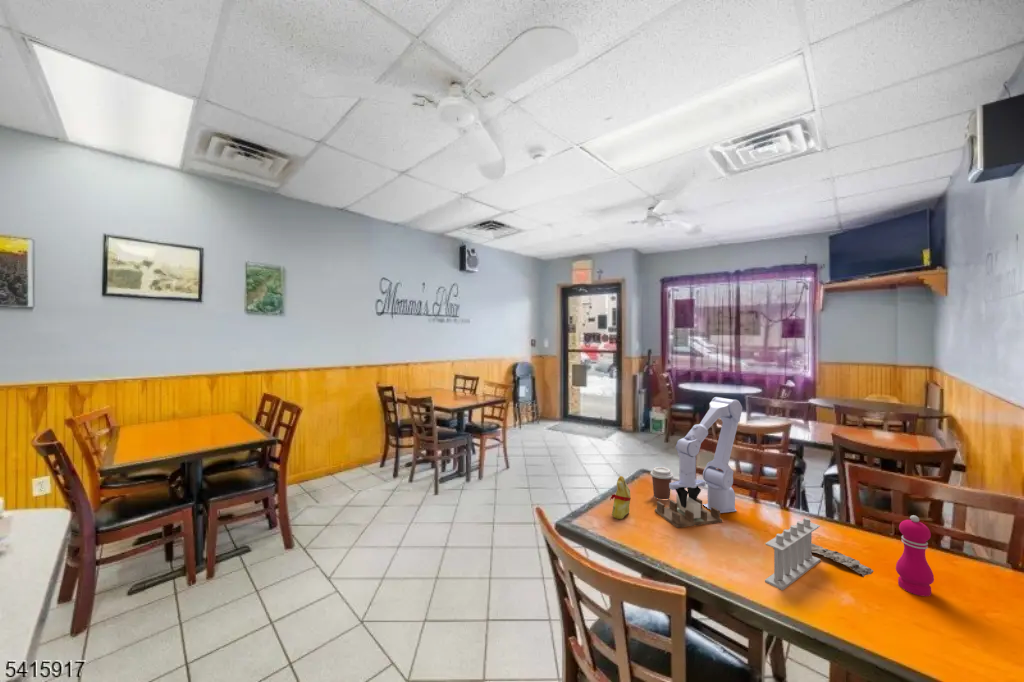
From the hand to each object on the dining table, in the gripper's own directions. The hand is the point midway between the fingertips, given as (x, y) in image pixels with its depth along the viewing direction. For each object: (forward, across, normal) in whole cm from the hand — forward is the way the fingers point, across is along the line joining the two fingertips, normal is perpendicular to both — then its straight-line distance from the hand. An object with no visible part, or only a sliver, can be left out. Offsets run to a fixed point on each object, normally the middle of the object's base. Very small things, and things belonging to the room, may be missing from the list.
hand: (687, 506), depth 150 cm
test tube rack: (+4, +7, -38) cm, 39 cm away
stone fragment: (+5, +23, -32) cm, 40 cm away
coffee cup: (+4, +1, +18) cm, 18 cm away
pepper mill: (+4, +31, -52) cm, 61 cm away
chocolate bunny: (+4, -24, +8) cm, 26 cm away
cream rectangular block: (+2, 0, 0) cm, 2 cm away
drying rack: (+4, 0, 0) cm, 4 cm away
